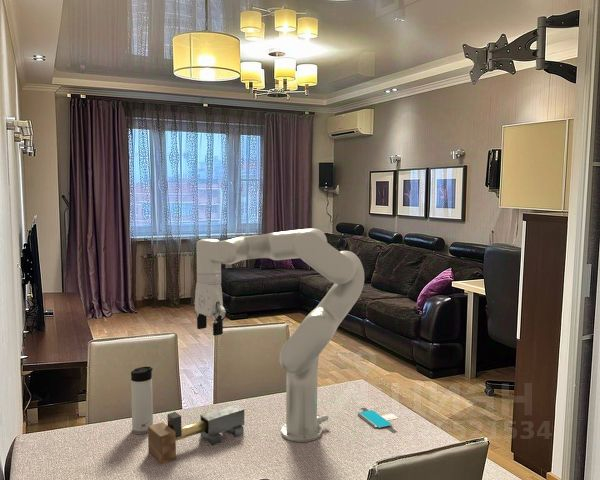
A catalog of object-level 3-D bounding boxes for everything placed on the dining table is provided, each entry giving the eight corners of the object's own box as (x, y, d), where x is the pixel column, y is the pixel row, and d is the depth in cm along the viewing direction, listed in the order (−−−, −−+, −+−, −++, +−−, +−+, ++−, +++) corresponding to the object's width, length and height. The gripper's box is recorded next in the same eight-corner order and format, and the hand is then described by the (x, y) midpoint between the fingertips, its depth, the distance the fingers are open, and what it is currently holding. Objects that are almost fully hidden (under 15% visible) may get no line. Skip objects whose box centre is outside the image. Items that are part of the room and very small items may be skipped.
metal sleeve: (233, 426, 170) (233, 403, 170) (246, 433, 165) (246, 410, 164) (199, 437, 162) (198, 413, 162) (210, 446, 157) (210, 421, 156)
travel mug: (148, 435, 163) (146, 372, 161) (128, 433, 165) (126, 370, 163) (157, 426, 169) (156, 365, 167) (138, 424, 171) (137, 363, 169)
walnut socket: (163, 448, 155) (162, 422, 154) (175, 459, 149) (175, 431, 148) (148, 453, 152) (147, 426, 152) (160, 464, 146) (160, 436, 146)
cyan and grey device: (412, 430, 169) (413, 425, 169) (380, 437, 164) (380, 432, 164) (379, 406, 187) (379, 402, 187) (349, 412, 183) (349, 407, 183)
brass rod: (210, 425, 163) (210, 401, 162) (216, 430, 160) (216, 405, 159) (154, 443, 151) (154, 417, 150) (160, 448, 148) (159, 422, 148)
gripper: (185, 276, 172) (185, 328, 173) (213, 283, 159) (213, 339, 160) (205, 273, 177) (206, 324, 178) (234, 280, 163) (234, 335, 165)
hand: (209, 331), depth 169 cm, fingers open, 9 cm apart
